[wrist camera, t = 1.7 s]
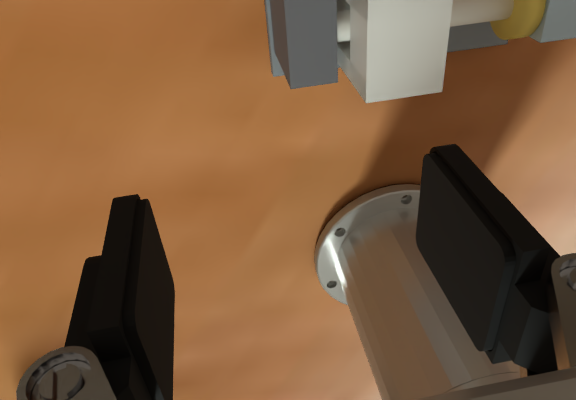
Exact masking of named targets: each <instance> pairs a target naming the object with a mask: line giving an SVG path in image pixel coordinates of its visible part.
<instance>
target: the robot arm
mask: <svg viewBox="0 0 576 400" xmlns="http://www.w3.org/2000/svg"><path fill="white" fill-rule="evenodd" d="M314 262H315V269H316V272H317V275H318V278H319V281H320V283H321V285H322V287H323V289H324V290H325V291H326V292H327V293H328V294H329V295H330V296H331V297H333V298H334V299H336V300H338V301H339V302H341V303H344V304H346V305H348V306H349V309H350V312H351V314H352V317H353V320H354V323H355V326H356V328H357V331H358V334H359V337H360V340H361V342H362V345H363V348H364V351H365V353H366V356H367V359H368V362H369V365H370V367H371V370H372V373H373V376H374V379H375V381H376V384H377V387H378V390H379V392H380V395H381V398H382V400H576V253H572V254H567V255H563V256H561V257H560V255H559V254H558V253H557V252H556V251H555V250H554V249H553V248H552V247H551V246H550V245H549V243H548V242H547V241H546V240H545V239H544V238H543V237H542V236H541V235H540V234H539V233H538V231H537V230H536V229H535V228H534V227H533V226H532V225H531V224H530V223H529V222H528V221H527V219H526V218H525V217H524V216H523V215H522V214H521V213H520V212H519V211H518V210H517V209H516V207H515V206H514V205H513V204H512V203H511V202H510V201H509V200H508V199H507V198H506V197H505V195H504V194H503V193H501V192H500V191H499V190H498V189H497V188H496V187H495V186H494V185H493V184H492V183H491V181H490V180H489V179H488V178H487V177H486V176H485V175H484V174H483V173H482V172H481V170H480V169H479V168H478V167H477V166H476V165H475V164H474V163H473V162H472V161H471V160H470V158H469V157H468V156H467V155H466V154H465V153H464V152H463V151H462V150H461V149H460V148H459V146H457V145H456V144H451V145H444V146H438V147H433V148H432V149H431V150H430V154H426V155H425V156H424V159H423V167H422V177H421V185H414V184H402V185H392V186H388V187H384V188H380V189H376V190H374V191H371V192H369V193H367V194H364V195H362V196H360V197H359V198H357V199H355V200H354V201H352V202H350V203H348V204H347V205H346V206H345V207H344V208H342V209H341V210H340V211H339V212H337V213H336V214H335V216H334V217H333V218H332V219H331V220H330V221H329V222H328V223H327V225H326V226H325V228H324V230H323V231H322V233H321V235H320V236H319V239H318V242H317V245H316V247H315V256H314ZM174 303H175V290H174V282H173V278H172V275H171V271H170V268H169V265H168V261H167V258H166V255H165V251H164V248H163V245H162V242H161V238H160V235H159V232H158V228H157V225H156V222H155V218H154V215H153V212H152V208H151V205H150V202H149V200H148V199H143V200H141V199H140V197H139V195H138V194H136V195H130V196H123V197H117V198H114V199H113V201H112V205H111V210H110V215H109V220H108V225H107V231H106V236H105V241H104V246H103V251H102V255H101V256H95V257H89V258H87V259H86V260H85V263H84V266H83V270H82V275H81V279H80V283H79V287H78V292H77V296H76V300H75V304H74V309H73V313H72V317H71V321H70V325H69V330H68V334H67V338H66V342H65V347H62V348H59V349H56V350H54V351H51V352H49V353H47V354H46V355H44V356H43V357H41V358H39V359H38V360H37V361H36V362H34V363H33V364H32V365H31V366H30V367H29V368H28V369H27V371H26V372H25V374H24V375H23V376H22V378H21V379H20V382H19V385H18V388H17V391H16V393H17V400H173V356H174Z"/></svg>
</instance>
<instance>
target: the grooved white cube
mask: <svg viewBox="0 0 576 400" xmlns="http://www.w3.org/2000/svg"><path fill="white" fill-rule="evenodd" d="M452 4H453V0H337V11H344V10H350V40H349V41H341V42H337V62H338V65H339V66H340V67H341V69H342V70H343V72H344V73H345V74H346V76H347V77H348V79H349V80H350V81H351V83H352V84H353V86H354V87H355V89H356V90H357V91H358V93H359V94H360V96H361V97H362V98H363V100H364V101H365V103H371V102H378V101H384V100H391V99H398V98H405V97H411V96H418V95H425V94H432V93H439V92H442V89H443V81H444V72H445V64H446V55H447V47H448V38H449V30H450V21H451V13H452Z"/></svg>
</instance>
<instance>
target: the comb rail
mask: <svg viewBox="0 0 576 400" xmlns="http://www.w3.org/2000/svg"><path fill="white" fill-rule="evenodd" d="M264 1H265V11H266V22H267V32H268V42H269V52H270V62H271V72H272V74H273V77H275V76H282V75H285V77H286V79H287V82H288V84H289V86H290V88H291V89H295V88H302V87H309V86H316V85H323V84H330V83H337V82H338V68H339V67H340V66H339V65H338V62H337V42H341V41H349V40H350V10H344V11H337V0H264ZM528 36H529V37H531V38H532V39H534V40H536V41H538V42H540V43H543V42H550V41H557V40H564V39H571V38H576V0H453V4H452V13H451V21H450V30H449V38H448V47H447V52H453V51H460V50H468V49H475V48H482V47H489V46H496V45H503V44H507V43H508V40H509V39H516V38H523V37H528Z"/></svg>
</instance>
